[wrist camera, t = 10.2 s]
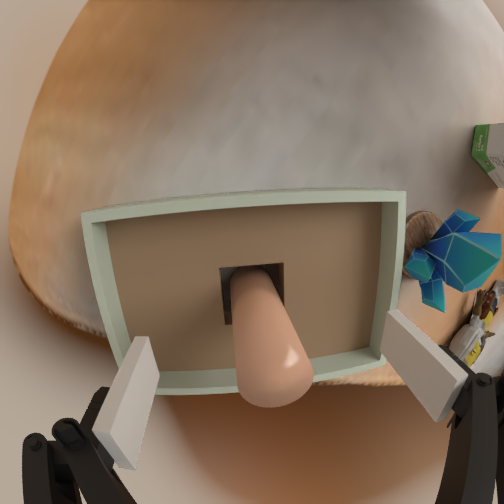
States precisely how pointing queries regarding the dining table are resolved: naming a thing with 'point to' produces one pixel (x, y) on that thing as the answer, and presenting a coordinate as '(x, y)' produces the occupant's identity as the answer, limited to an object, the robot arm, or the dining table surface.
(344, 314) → the box
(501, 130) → the ink box
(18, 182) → the dining table surface
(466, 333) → the toy
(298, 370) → the peg
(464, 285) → the gemstone
